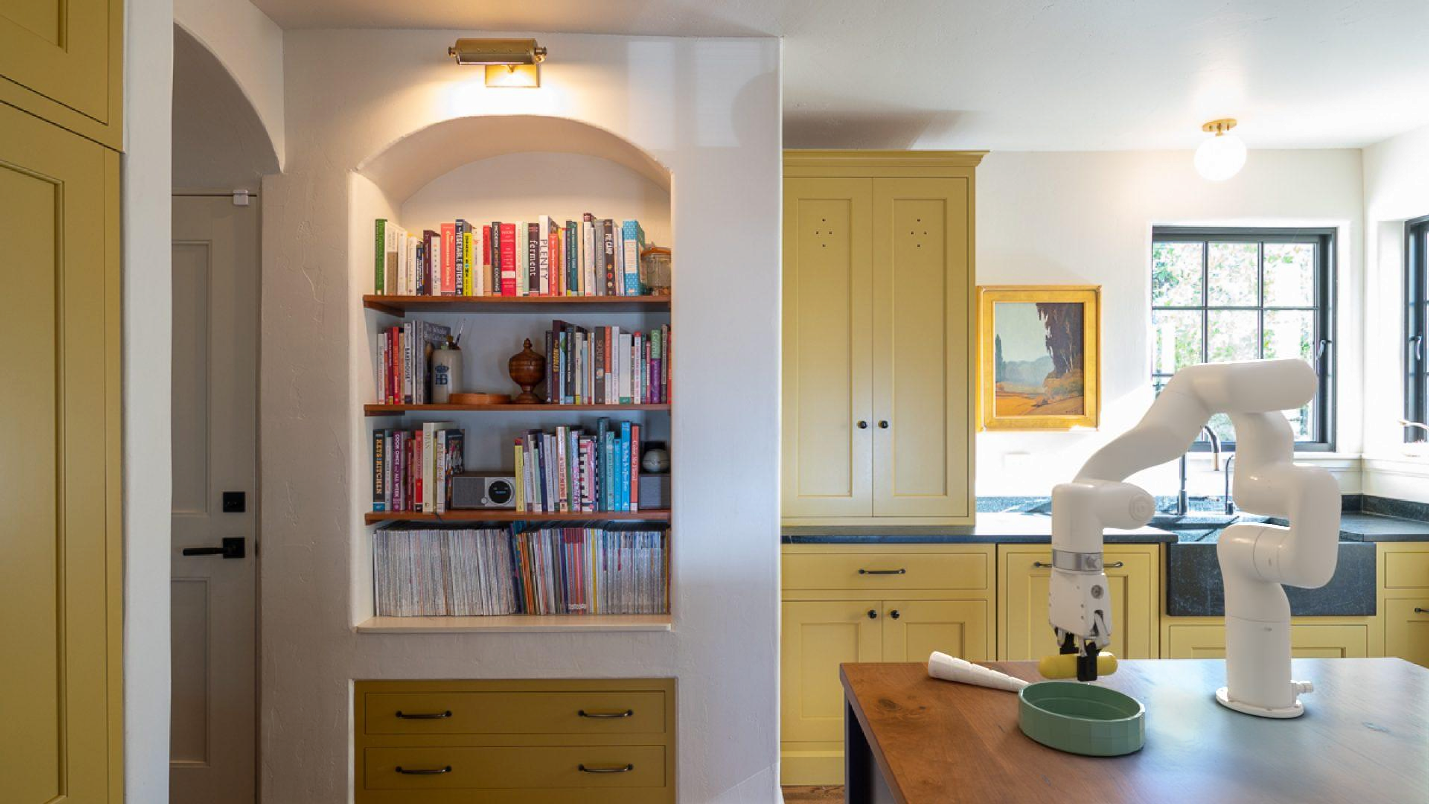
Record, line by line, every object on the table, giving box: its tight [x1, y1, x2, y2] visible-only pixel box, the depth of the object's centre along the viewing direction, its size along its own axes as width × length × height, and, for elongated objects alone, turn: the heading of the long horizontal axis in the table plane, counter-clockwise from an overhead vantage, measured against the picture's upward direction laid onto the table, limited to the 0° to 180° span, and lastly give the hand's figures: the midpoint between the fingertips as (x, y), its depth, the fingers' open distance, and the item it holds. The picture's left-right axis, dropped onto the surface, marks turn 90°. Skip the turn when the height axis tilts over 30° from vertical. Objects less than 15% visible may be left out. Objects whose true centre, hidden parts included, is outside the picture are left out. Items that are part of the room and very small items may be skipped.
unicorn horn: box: [927, 651, 1032, 693], centre depth 150 cm, size 5×24×5 cm, turn 52°
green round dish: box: [1017, 680, 1146, 757], centre depth 129 cm, size 18×18×6 cm
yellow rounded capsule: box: [1037, 651, 1119, 681], centre depth 129 cm, size 14×4×4 cm, turn 102°
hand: (1078, 675), depth 129 cm, fingers closed on yellow rounded capsule, 3 cm apart
